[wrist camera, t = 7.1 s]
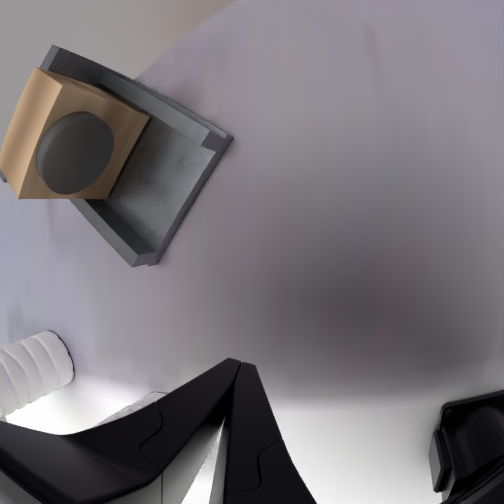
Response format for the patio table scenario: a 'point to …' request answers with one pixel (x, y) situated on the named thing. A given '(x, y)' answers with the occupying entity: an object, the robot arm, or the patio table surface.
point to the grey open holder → (146, 164)
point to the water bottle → (32, 370)
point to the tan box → (67, 139)
